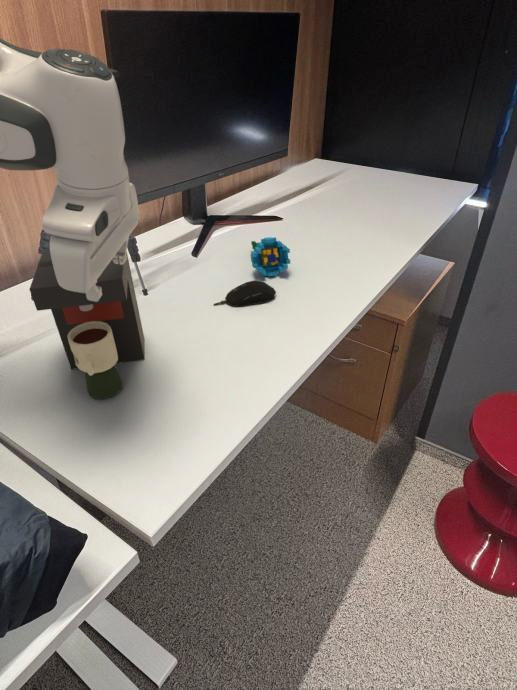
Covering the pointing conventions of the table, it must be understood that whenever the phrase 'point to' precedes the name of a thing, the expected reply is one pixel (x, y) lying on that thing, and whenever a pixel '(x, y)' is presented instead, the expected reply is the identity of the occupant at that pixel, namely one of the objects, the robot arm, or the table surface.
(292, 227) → the table surface
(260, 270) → the toy flower
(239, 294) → the gaming mouse
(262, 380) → the table surface
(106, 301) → the dark brown box
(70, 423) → the table surface
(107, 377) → the character mug
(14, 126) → the robot arm
